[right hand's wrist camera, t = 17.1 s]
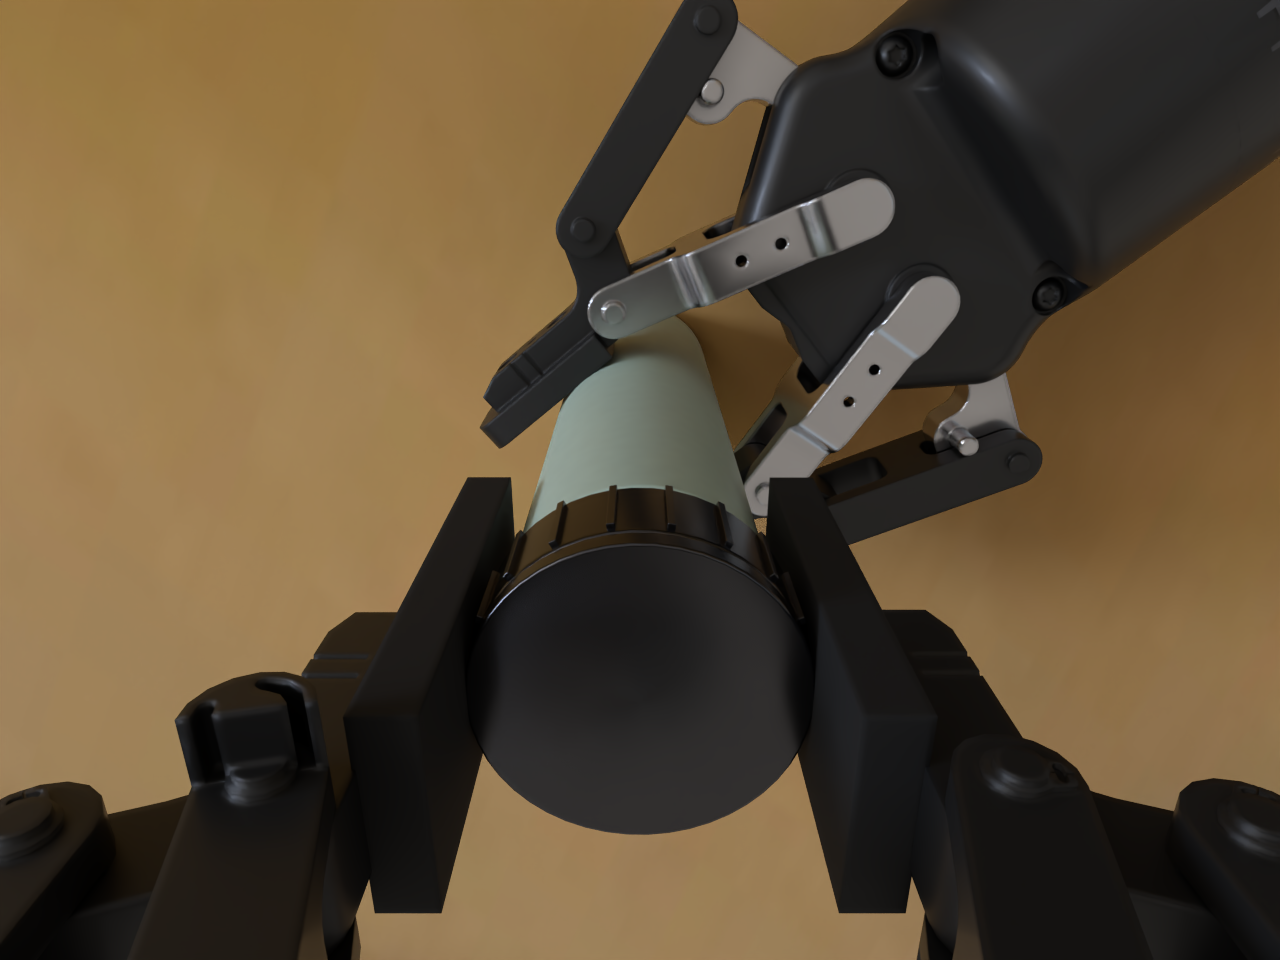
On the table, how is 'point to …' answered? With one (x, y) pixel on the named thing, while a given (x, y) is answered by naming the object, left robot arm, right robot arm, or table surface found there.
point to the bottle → (643, 428)
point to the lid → (640, 663)
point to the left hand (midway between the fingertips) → (560, 495)
